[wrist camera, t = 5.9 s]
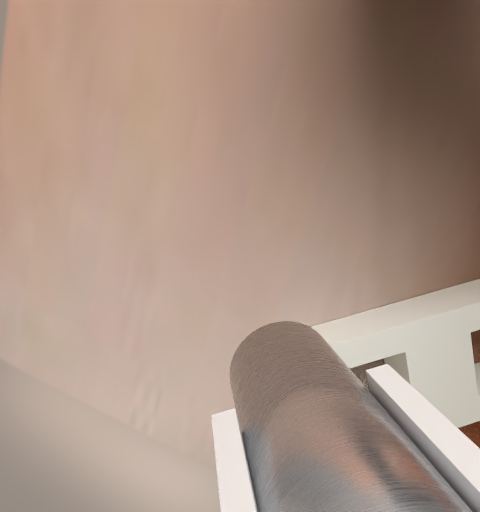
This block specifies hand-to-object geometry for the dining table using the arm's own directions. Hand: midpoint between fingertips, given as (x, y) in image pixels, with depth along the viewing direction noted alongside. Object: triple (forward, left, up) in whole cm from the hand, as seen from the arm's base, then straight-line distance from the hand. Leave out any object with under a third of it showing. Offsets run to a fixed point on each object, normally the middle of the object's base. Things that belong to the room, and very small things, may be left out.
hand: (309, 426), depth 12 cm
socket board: (+10, +14, -18) cm, 25 cm away
